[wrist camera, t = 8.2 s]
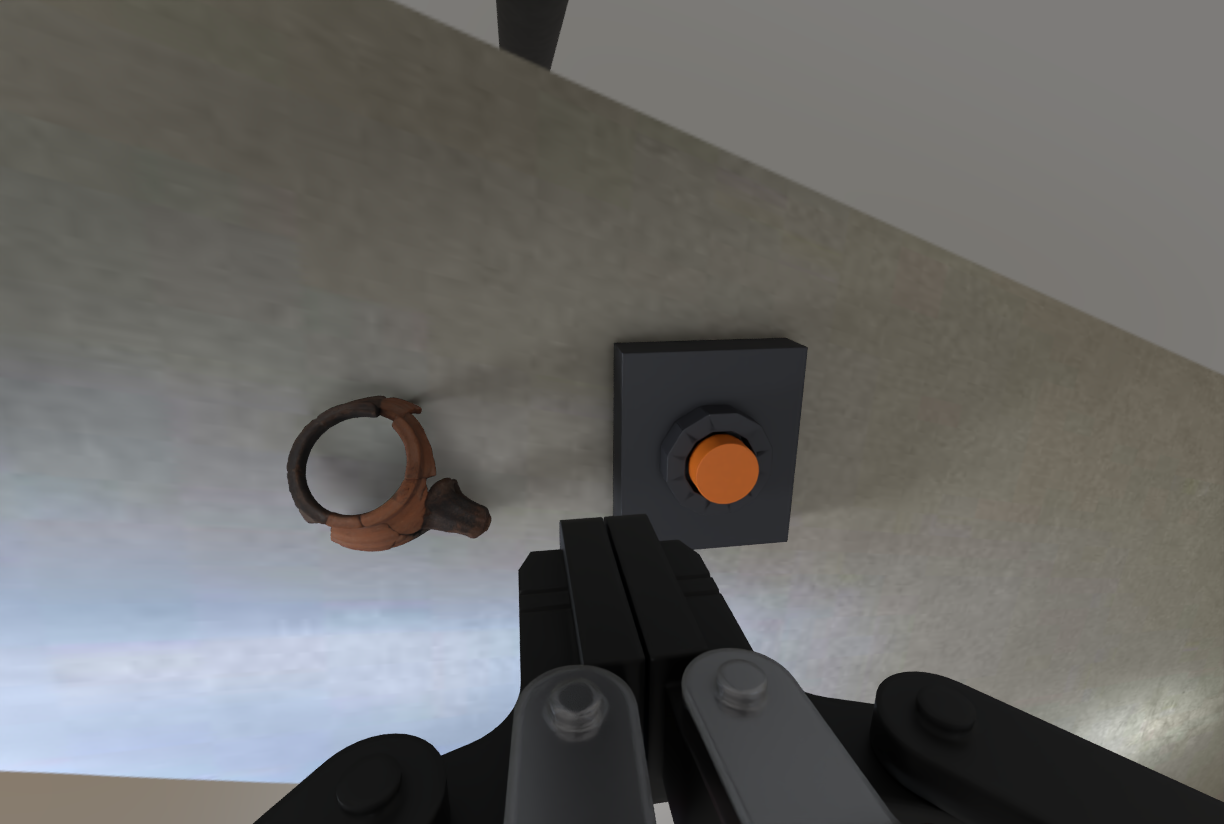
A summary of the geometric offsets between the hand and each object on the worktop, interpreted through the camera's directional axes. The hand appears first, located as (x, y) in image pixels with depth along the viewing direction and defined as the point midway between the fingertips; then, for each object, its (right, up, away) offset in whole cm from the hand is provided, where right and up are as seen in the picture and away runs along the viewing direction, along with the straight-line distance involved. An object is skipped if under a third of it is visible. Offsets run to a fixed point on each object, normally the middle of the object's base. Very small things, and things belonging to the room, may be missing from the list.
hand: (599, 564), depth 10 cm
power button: (+7, -1, +27) cm, 28 cm away
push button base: (+6, +1, +32) cm, 32 cm away
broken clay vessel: (-14, -1, +29) cm, 32 cm away
